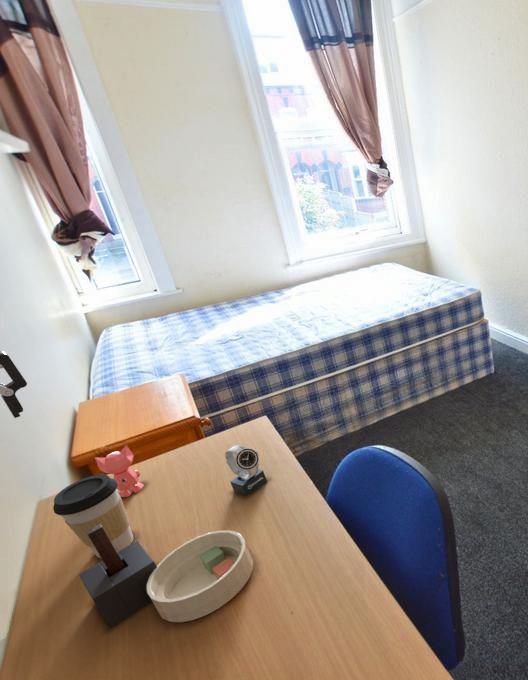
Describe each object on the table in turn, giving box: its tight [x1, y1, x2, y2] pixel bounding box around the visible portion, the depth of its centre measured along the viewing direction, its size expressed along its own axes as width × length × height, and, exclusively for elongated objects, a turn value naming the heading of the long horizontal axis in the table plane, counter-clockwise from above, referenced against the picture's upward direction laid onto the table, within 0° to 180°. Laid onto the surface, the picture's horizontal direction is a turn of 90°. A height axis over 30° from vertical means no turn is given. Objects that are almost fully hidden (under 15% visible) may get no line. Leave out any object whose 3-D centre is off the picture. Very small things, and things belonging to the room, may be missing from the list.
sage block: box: [200, 546, 226, 575], centre depth 88 cm, size 3×3×3 cm
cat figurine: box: [94, 444, 145, 498], centre depth 110 cm, size 7×7×12 cm
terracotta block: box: [212, 558, 234, 580], centre depth 85 cm, size 3×3×3 cm
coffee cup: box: [52, 474, 134, 559], centre depth 94 cm, size 10×10×15 cm
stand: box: [78, 540, 157, 628], centre depth 83 cm, size 9×9×7 cm
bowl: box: [147, 529, 254, 623], centre depth 84 cm, size 15×15×6 cm
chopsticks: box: [86, 525, 126, 576], centre depth 82 cm, size 2×1×16 cm, turn 143°
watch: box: [224, 444, 268, 497], centre depth 108 cm, size 6×8×11 cm
